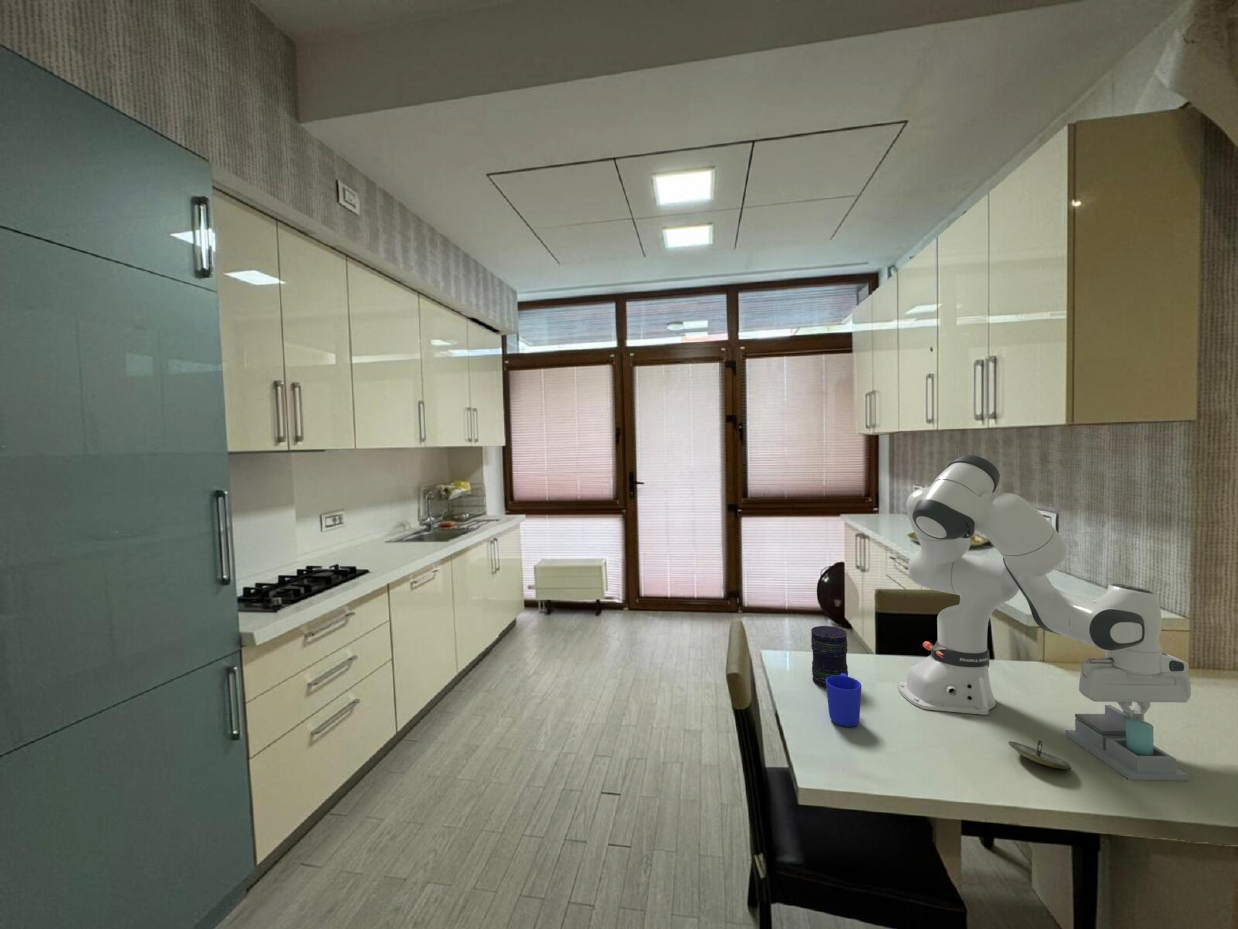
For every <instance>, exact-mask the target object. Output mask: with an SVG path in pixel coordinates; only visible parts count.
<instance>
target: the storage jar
mask: <svg viewBox="0 0 1238 929" xmlns="http://www.w3.org/2000/svg"><path fill="white" fill-rule="evenodd" d="M810 630H811V631H810V634H811V635H810V636H811V637H810V643H811V645H810V647H811V650H812V661H811V672H812V673H811V675H812V683H813V684H815V685H816V686H818V687H820V688H823V689H826V679H827V678H828V677H830V676H834V675H841V673H845V674H847V676H848V677H849V670H848V667H849V666H848V664H847V663H848V662H847V653H848V639H847V636H848V634H847V631H846V630H844V629H842V628H840V627H835V626H829V625H819V626H814V627H812V628H811V629H810Z"/></svg>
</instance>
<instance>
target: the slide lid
mask: <svg viewBox="0 0 1238 929" xmlns="http://www.w3.org/2000/svg"><path fill="white" fill-rule="evenodd" d="M1074 718H1077V719H1079V720H1080V721H1082V722H1083V723H1085V724H1087V725H1088V726H1090V727H1091V728H1093V729H1094V730H1096V731H1097V732H1099V733H1101V734H1105V735H1126V719H1129V718H1132V719H1135V718H1133V717H1131V716H1129V715H1127V714H1126V713H1124V712H1123V710H1120V709H1119V708H1117V707H1115V706H1113V705H1111V704H1104V713H1074Z"/></svg>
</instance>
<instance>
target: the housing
mask: <svg viewBox="0 0 1238 929" xmlns="http://www.w3.org/2000/svg"><path fill="white" fill-rule="evenodd" d="M1074 721H1075V722H1074V723H1075V724H1074V725H1075V726H1074V727H1075V729H1065V732H1064V733H1065V735H1064V736H1066V737H1067V738H1068V739H1070V740H1072V741H1073V742H1074V743H1076V744H1077V745H1078V746H1080V747H1081V748H1083V749H1084V750H1086V751H1087V752H1089V753H1090V754H1091V755H1093V756H1095V757H1096V758H1098V760H1100V761H1102V762H1103V763H1104V764H1106V765H1107V766H1108V767H1110V768H1112V769H1114V771H1116V772H1117V773H1119V774H1120V775H1122V776H1123V777H1125V778H1126V779H1127V778H1128V779H1127V780H1129V781H1130V780H1132V781H1175V782H1176V781H1185V782H1186V781H1187V782H1188V781H1189V774H1188V773H1186V772H1184V771H1182V769H1180V768H1178V767H1177V761H1176V760H1177V759H1176V758H1175V757H1173V755H1170V754H1169V753H1167V752H1165V751H1163V750H1162V749H1160V748H1159V747H1157V746H1155V745H1154V744H1153V748H1154V756H1137V755H1136V754H1134V753H1132V752H1131V751H1129V750H1128V749H1126V735H1105V734H1101V733H1099V732H1097V731H1096V730H1094V729H1093V728H1091V727H1090V726H1088V725H1087V724H1085V723H1083V722H1082V721H1080V720H1079V719H1077V718H1076V717H1074Z"/></svg>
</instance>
